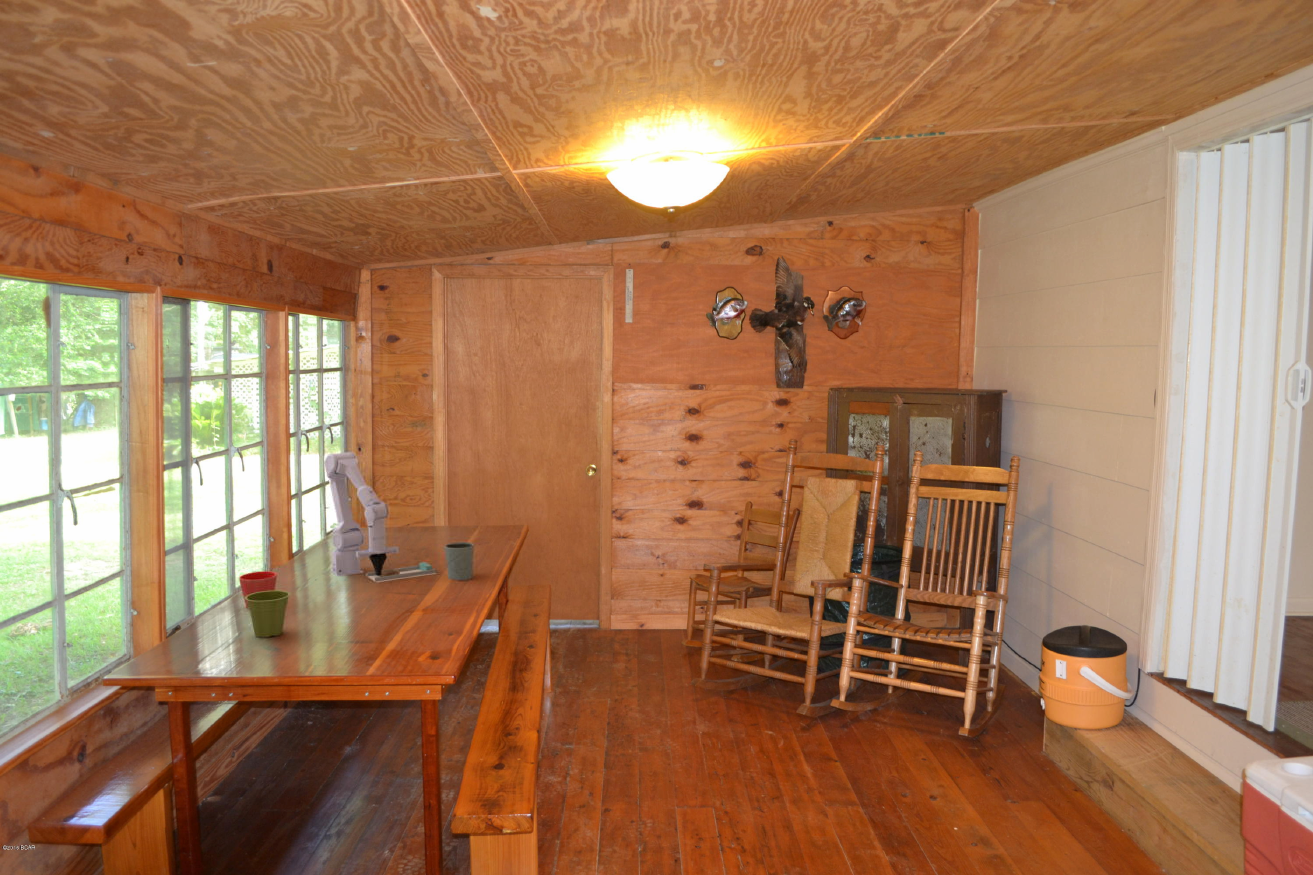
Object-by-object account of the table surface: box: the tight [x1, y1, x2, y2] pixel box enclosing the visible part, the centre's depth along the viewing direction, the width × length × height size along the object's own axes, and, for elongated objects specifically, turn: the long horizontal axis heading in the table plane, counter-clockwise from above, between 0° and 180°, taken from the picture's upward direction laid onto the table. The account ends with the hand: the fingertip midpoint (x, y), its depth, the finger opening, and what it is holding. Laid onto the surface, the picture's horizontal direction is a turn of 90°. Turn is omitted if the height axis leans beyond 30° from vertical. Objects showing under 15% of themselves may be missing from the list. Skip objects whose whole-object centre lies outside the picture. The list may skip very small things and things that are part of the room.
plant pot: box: [244, 589, 291, 638], centre depth 250 cm, size 12×12×11 cm
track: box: [365, 561, 437, 583], centre depth 317 cm, size 22×12×3 cm, turn 126°
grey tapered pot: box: [444, 541, 475, 582], centre depth 314 cm, size 10×10×12 cm
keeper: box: [379, 567, 400, 577], centre depth 315 cm, size 6×5×2 cm
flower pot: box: [238, 570, 278, 609], centre depth 279 cm, size 11×11×10 cm
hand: (378, 574), depth 312 cm, fingers closed
